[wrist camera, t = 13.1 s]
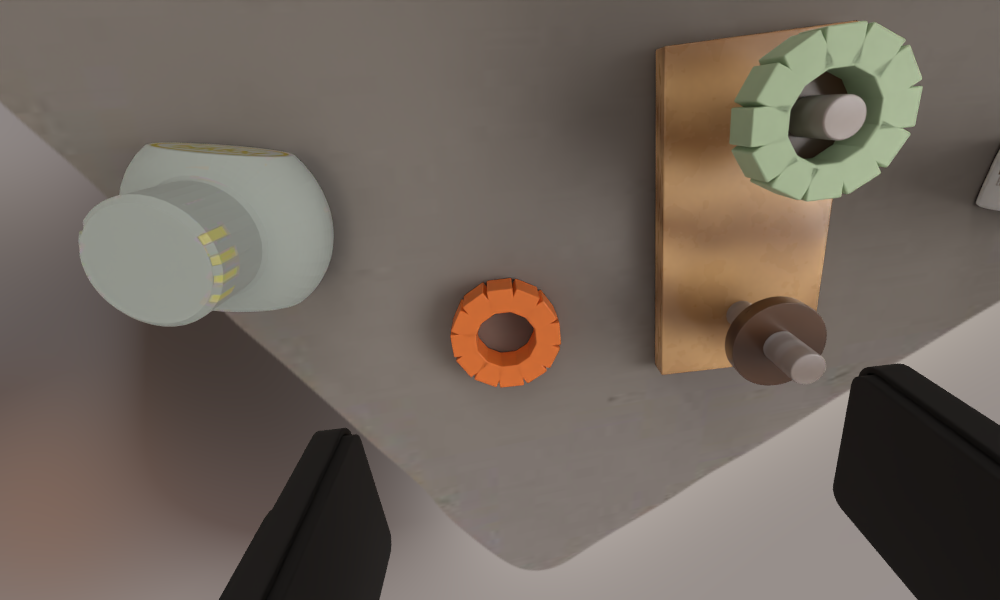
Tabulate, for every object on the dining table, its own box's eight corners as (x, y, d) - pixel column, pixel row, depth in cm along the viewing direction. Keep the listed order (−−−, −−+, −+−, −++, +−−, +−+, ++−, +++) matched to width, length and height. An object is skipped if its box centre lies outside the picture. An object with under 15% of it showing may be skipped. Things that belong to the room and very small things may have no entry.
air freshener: (344, 154, 28) (272, 176, 18) (348, 285, 31) (288, 362, 22) (152, 136, 27) (-23, 150, 18) (175, 272, 30) (37, 344, 21)
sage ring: (897, 19, 20) (938, 10, 18) (869, 183, 23) (903, 190, 21) (734, 41, 21) (758, 34, 19) (725, 201, 23) (745, 209, 21)
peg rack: (655, 49, 26) (728, 23, 18) (839, 24, 26) (996, -13, 18) (654, 364, 33) (706, 444, 26) (796, 347, 33) (893, 423, 25)
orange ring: (552, 272, 31) (556, 283, 29) (560, 365, 33) (564, 380, 32) (445, 285, 31) (443, 296, 29) (462, 376, 34) (460, 392, 32)
